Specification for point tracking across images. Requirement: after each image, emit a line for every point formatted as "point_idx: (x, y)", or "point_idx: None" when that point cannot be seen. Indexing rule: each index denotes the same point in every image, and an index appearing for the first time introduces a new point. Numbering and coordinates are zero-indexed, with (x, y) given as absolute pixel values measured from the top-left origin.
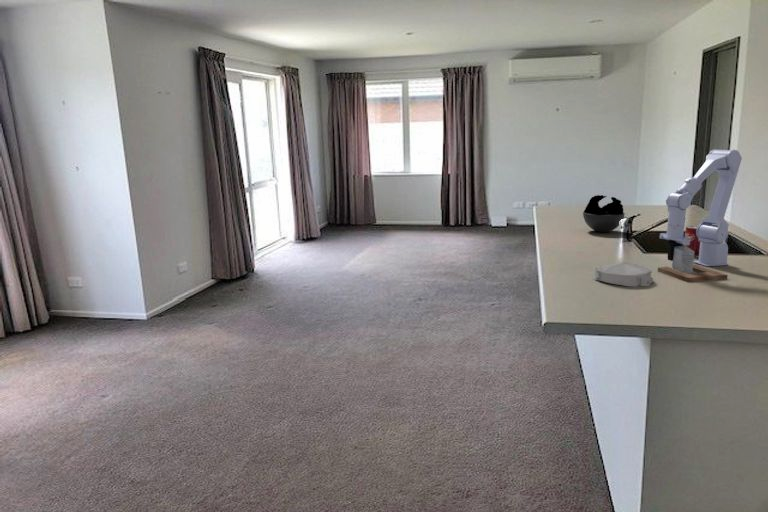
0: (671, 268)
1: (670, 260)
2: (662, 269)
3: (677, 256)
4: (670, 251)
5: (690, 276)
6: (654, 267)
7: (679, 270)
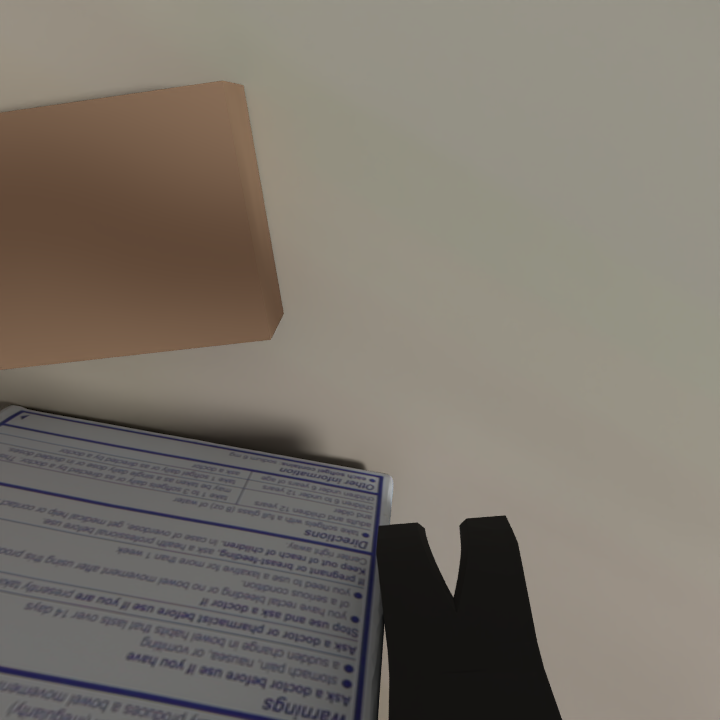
0: (99, 334)
1: (408, 524)
2: (56, 106)
3: (55, 644)
4: (392, 696)
5: None
6: (589, 210)
7: (25, 430)
